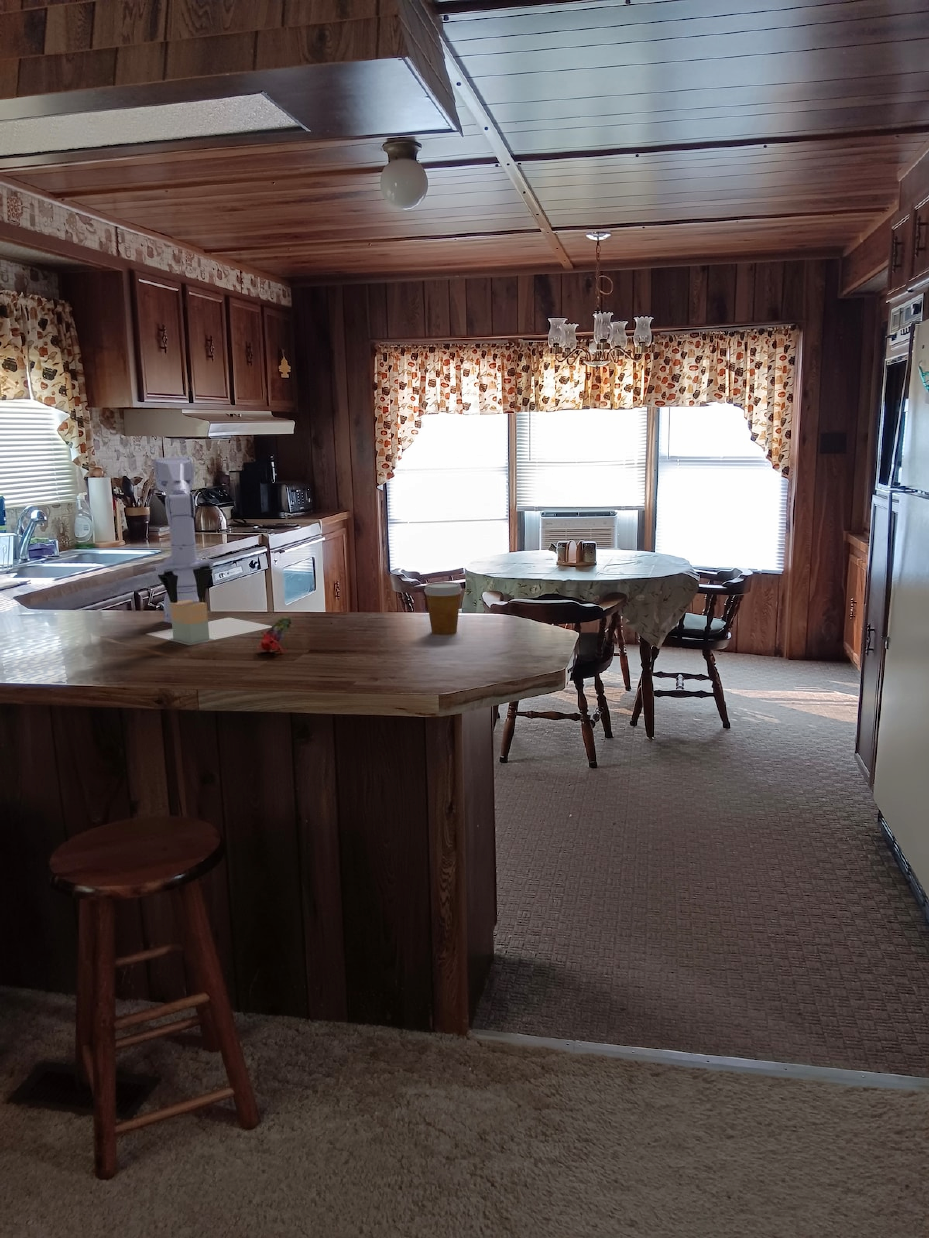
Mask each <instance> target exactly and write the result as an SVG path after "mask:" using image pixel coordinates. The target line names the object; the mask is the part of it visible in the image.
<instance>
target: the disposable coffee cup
mask: <svg viewBox="0 0 929 1238" xmlns="http://www.w3.org/2000/svg"><path fill="white" fill-rule="evenodd" d="M423 591H424V594H425V596H426V603H427V604H426V605H427V609H428V616H429V622H430V628H431V629H430V630H431V633H433V634H435V635H452V634H455V633H457V632H458V620H459V611H460V601H461V594H462V591H463V588H462V585H461V583H458V582H454V581H436V582H431V583H430V582H429V583H427V584H425V587H424V590H423Z"/></svg>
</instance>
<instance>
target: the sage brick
mask: <svg viewBox="0 0 929 1238" xmlns="http://www.w3.org/2000/svg"><path fill="white" fill-rule="evenodd" d="M208 622H209V620H208V621H207V622H202V623H197V624H192V625H188V624H184V623H179V622H175V621H172V623H171V625H172V626H171V629H172V630H173V639H176V640H180V641H185V642H189V643H195V642H200V641H204V640H209V628H208Z"/></svg>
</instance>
